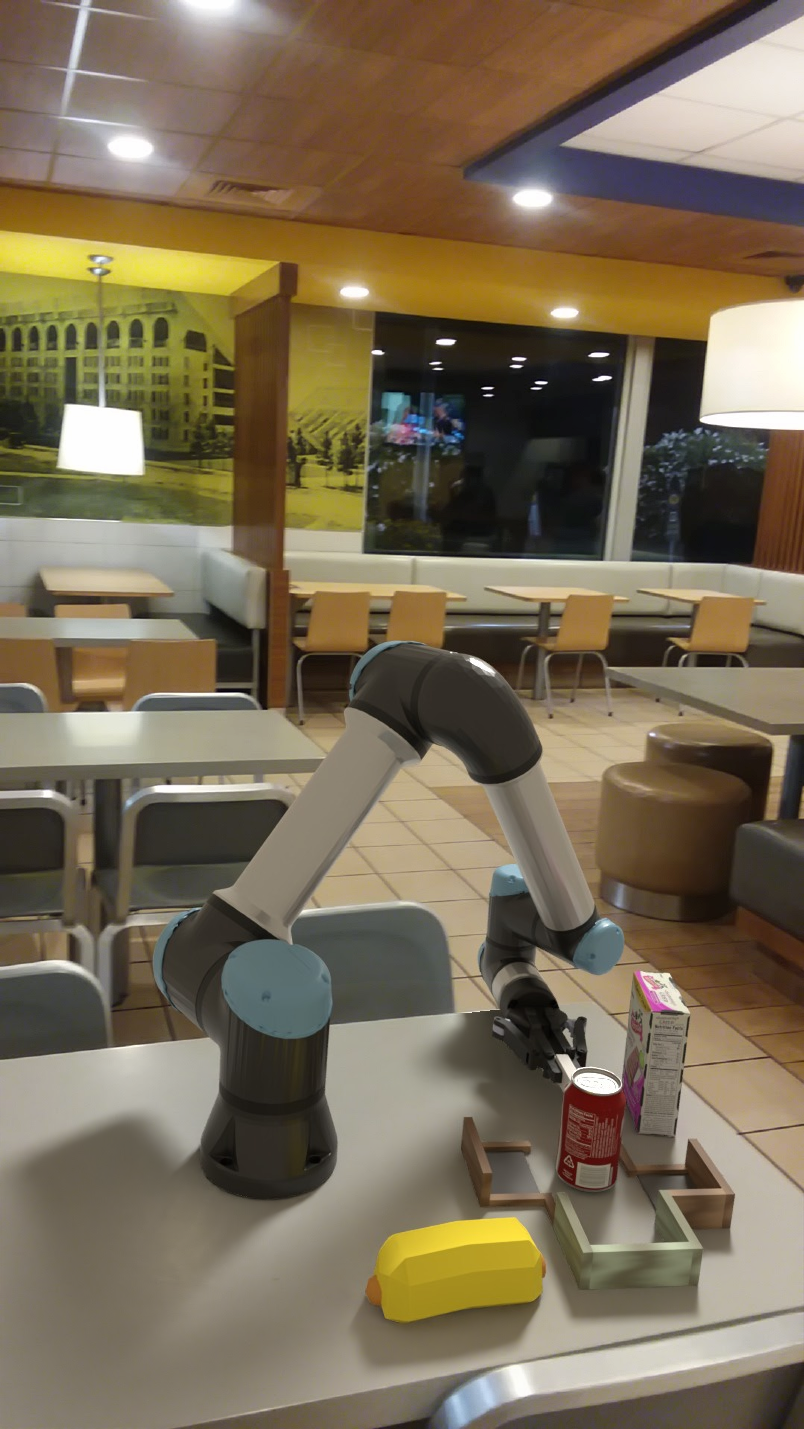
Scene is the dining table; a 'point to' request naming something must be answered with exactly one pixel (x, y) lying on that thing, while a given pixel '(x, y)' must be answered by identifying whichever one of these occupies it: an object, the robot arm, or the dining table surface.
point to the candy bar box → (655, 1053)
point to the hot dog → (456, 1269)
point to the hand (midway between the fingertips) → (576, 1092)
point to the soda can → (591, 1130)
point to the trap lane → (680, 1206)
